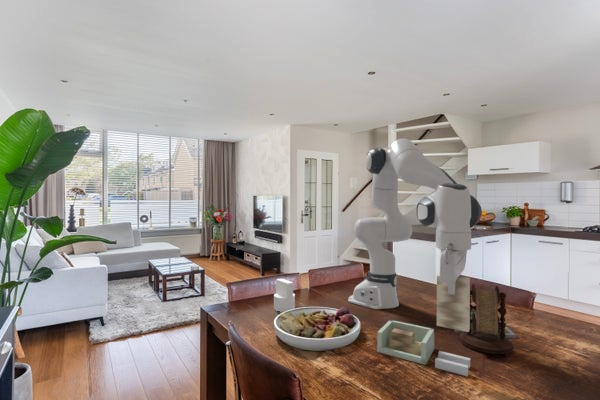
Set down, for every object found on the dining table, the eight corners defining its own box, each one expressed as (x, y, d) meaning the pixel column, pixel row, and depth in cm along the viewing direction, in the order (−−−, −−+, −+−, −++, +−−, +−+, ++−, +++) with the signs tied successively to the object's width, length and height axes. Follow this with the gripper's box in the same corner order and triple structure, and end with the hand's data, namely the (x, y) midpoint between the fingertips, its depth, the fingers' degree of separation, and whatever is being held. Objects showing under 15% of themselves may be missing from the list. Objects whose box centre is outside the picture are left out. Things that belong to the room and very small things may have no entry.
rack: (377, 355, 99) (377, 332, 98) (389, 340, 109) (389, 319, 109) (425, 368, 91) (425, 343, 91) (434, 351, 101) (434, 329, 101)
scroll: (462, 354, 99) (462, 288, 99) (457, 335, 113) (457, 277, 113) (518, 362, 94) (519, 293, 94) (506, 341, 108) (506, 281, 108)
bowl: (304, 365, 93) (304, 337, 93) (259, 329, 118) (259, 307, 118) (379, 341, 109) (379, 317, 109) (325, 314, 134) (325, 295, 134)
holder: (435, 371, 89) (435, 359, 89) (439, 361, 94) (439, 350, 94) (467, 380, 85) (467, 367, 85) (470, 369, 90) (470, 358, 90)
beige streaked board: (436, 325, 91) (436, 275, 91) (438, 322, 93) (438, 273, 93) (468, 332, 86) (468, 279, 86) (469, 328, 89) (469, 277, 88)
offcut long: (389, 348, 100) (389, 339, 100) (392, 345, 103) (392, 335, 103) (419, 356, 96) (419, 346, 96) (422, 352, 98) (422, 342, 98)
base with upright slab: (269, 308, 141) (270, 280, 141) (286, 304, 146) (287, 277, 146) (281, 313, 134) (281, 284, 134) (299, 309, 139) (299, 281, 139)
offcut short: (391, 339, 100) (391, 331, 100) (394, 336, 103) (394, 328, 103) (411, 344, 97) (411, 335, 97) (413, 340, 99) (413, 332, 99)
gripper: (460, 247, 79) (460, 304, 79) (470, 239, 96) (469, 285, 96) (433, 245, 83) (433, 299, 83) (447, 237, 100) (446, 282, 100)
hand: (453, 292), depth 90 cm, fingers closed on beige streaked board, 2 cm apart
